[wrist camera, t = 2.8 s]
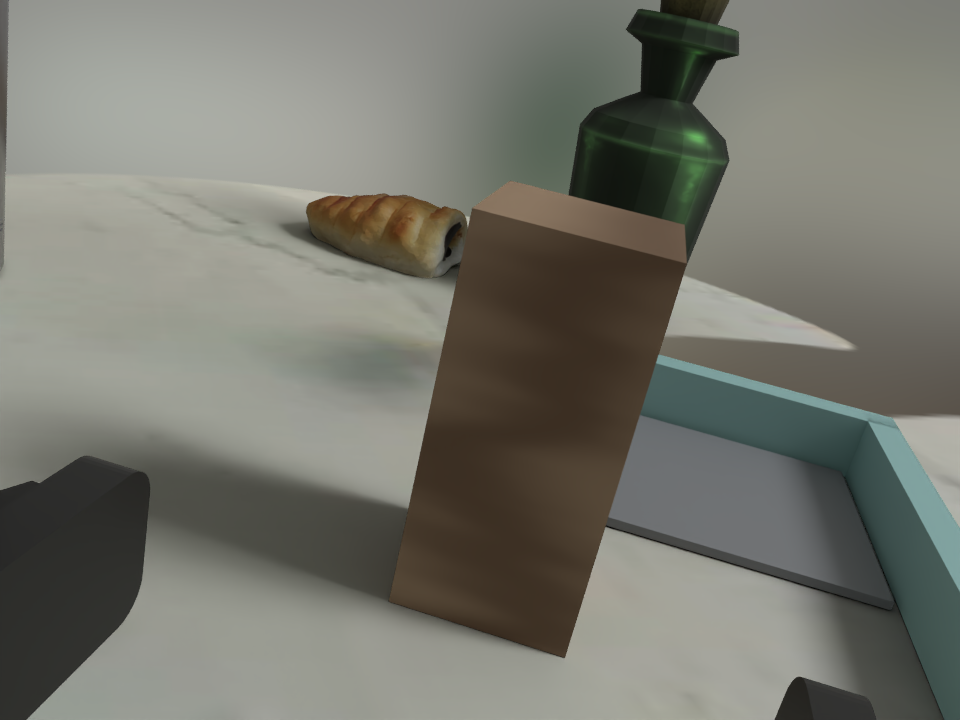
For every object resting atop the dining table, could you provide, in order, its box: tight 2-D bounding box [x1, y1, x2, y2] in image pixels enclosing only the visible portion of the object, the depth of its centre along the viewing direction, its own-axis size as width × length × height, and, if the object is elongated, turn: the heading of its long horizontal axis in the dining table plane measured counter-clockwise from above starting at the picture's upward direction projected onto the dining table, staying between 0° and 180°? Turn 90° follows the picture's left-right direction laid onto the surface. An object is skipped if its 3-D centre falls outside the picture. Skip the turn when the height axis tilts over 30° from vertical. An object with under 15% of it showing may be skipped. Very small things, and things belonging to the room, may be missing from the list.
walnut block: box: [389, 181, 687, 658], centre depth 22 cm, size 4×4×10 cm
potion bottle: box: [569, 0, 739, 266], centre depth 47 cm, size 8×8×18 cm
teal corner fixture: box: [606, 355, 960, 720], centre depth 28 cm, size 14×17×2 cm
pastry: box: [306, 194, 468, 278], centre depth 51 cm, size 9×7×4 cm
